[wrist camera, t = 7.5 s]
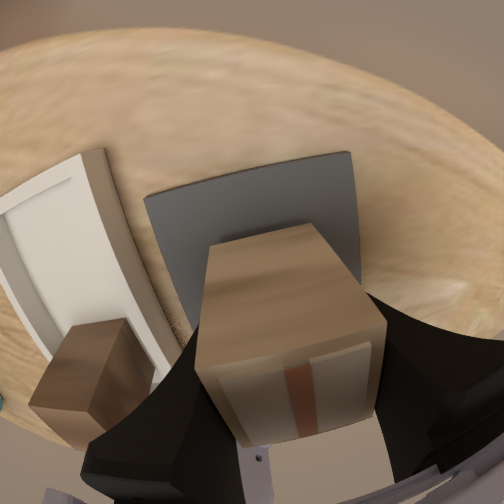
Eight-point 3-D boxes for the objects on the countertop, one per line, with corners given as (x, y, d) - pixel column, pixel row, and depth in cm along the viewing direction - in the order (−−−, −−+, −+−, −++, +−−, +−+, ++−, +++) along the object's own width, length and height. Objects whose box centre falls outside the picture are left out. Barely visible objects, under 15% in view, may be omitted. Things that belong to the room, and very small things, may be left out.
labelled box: (321, 304, 14) (374, 421, 7) (235, 325, 14) (242, 453, 8) (310, 222, 12) (391, 327, 6) (209, 246, 12) (193, 375, 6)
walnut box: (155, 368, 17) (136, 457, 11) (103, 372, 17) (76, 450, 11) (125, 317, 15) (86, 411, 9) (71, 325, 15) (27, 405, 9)
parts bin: (198, 380, 18) (196, 407, 16) (98, 387, 19) (89, 410, 16) (103, 148, 12) (80, 153, 9) (-3, 204, 12) (-27, 216, 10)
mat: (345, 151, 13) (350, 152, 12) (357, 312, 17) (360, 318, 16) (146, 196, 13) (143, 199, 12) (204, 348, 17) (204, 354, 17)
